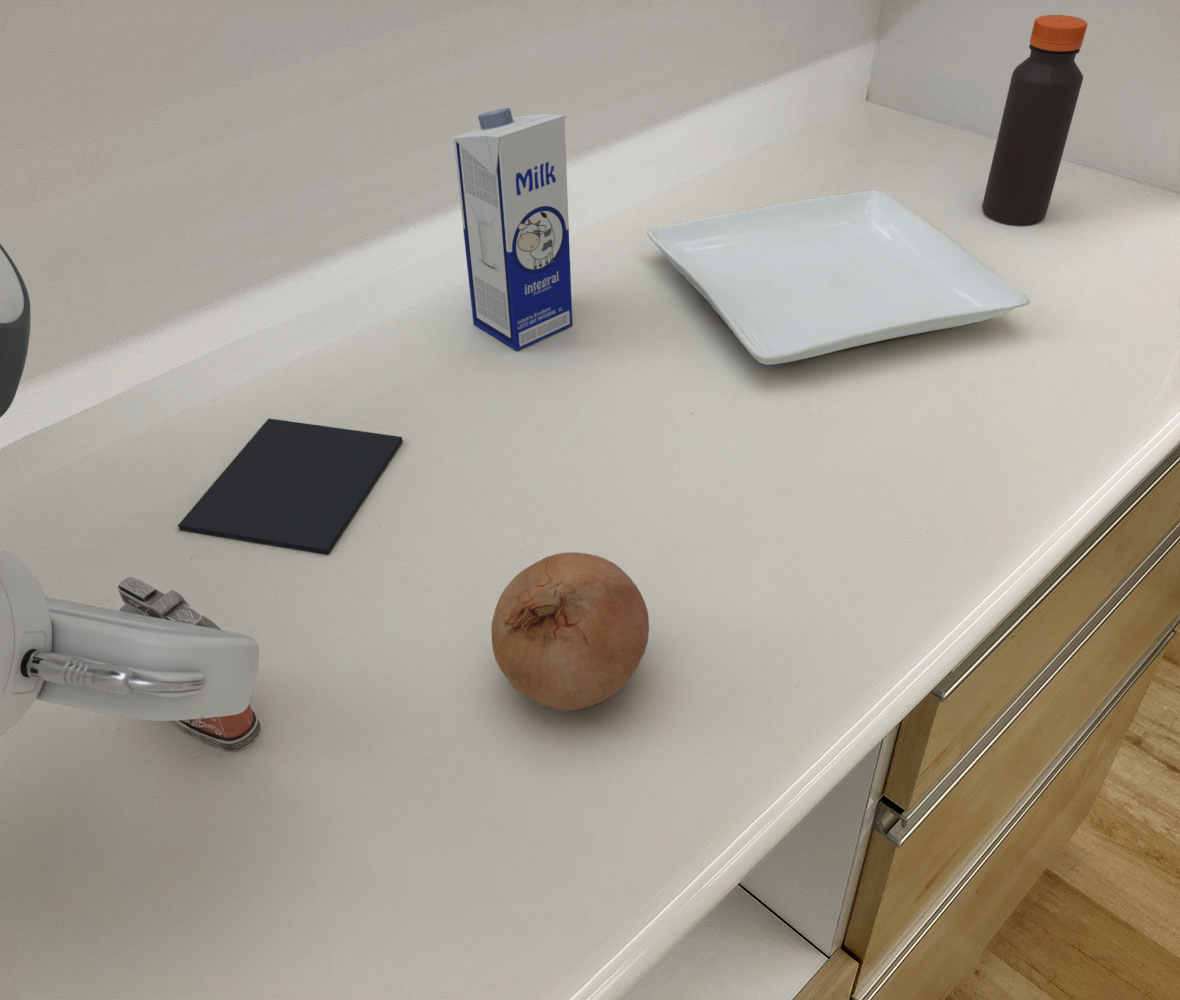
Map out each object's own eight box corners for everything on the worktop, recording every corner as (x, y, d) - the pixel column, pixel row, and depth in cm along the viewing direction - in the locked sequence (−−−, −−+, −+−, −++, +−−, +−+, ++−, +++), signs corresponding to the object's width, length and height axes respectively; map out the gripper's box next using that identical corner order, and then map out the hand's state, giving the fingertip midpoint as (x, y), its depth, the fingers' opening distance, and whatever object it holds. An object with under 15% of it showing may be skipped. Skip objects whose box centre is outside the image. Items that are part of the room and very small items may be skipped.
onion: (553, 754, 65) (498, 711, 56) (500, 628, 69) (442, 570, 61) (689, 683, 64) (655, 628, 56) (627, 561, 69) (587, 494, 61)
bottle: (993, 195, 119) (1037, 8, 107) (1053, 209, 116) (1106, 18, 104) (972, 216, 115) (1015, 24, 103) (1034, 231, 112) (1086, 35, 99)
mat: (179, 530, 77) (177, 525, 77) (269, 422, 88) (268, 418, 87) (328, 554, 75) (327, 549, 74) (403, 441, 85) (402, 436, 85)
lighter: (273, 722, 63) (234, 605, 57) (231, 762, 61) (185, 645, 55) (183, 670, 67) (136, 553, 60) (140, 705, 64) (87, 589, 58)
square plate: (872, 217, 116) (877, 183, 113) (1026, 336, 96) (1036, 298, 93) (643, 257, 110) (643, 222, 107) (756, 393, 89) (759, 354, 87)
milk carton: (515, 352, 95) (498, 134, 83) (471, 325, 99) (448, 113, 87) (574, 325, 99) (566, 112, 86) (529, 300, 103) (516, 92, 90)
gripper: (171, 610, 41) (326, 611, 54) (-250, 531, 45) (-9, 550, 58) (139, 772, 40) (304, 733, 54) (-284, 677, 44) (-33, 663, 58)
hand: (138, 637), depth 56 cm, fingers open, 8 cm apart
